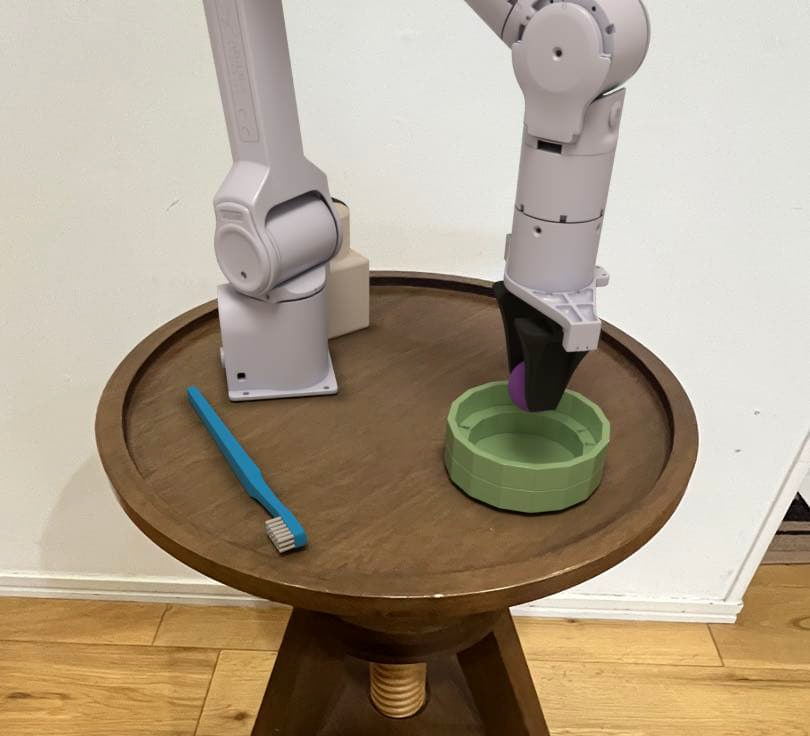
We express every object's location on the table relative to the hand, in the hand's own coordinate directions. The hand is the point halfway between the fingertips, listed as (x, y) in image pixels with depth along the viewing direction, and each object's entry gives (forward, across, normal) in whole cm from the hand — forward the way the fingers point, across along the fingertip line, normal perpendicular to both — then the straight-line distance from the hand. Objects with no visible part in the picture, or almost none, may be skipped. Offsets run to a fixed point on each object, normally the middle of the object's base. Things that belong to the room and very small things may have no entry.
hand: (532, 393), depth 63 cm
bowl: (+7, 0, 0) cm, 7 cm away
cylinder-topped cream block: (+7, +27, +13) cm, 31 cm away
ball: (-1, 0, 0) cm, 1 cm away
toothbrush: (+6, +4, +21) cm, 22 cm away
